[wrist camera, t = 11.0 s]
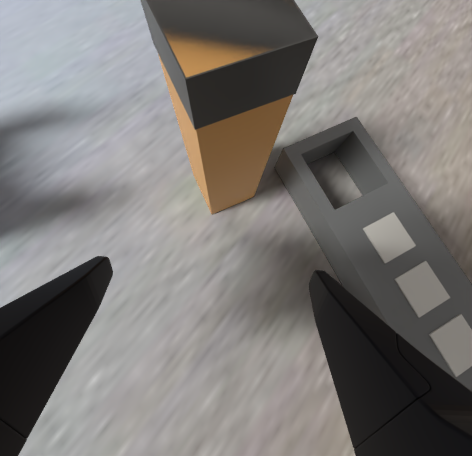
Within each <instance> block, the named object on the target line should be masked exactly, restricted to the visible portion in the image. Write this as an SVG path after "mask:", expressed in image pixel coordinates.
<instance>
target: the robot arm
mask: <svg viewBox="0 0 472 456" xmlns="http://www.w3.org/2000/svg"><path fill="white" fill-rule="evenodd" d="M112 275H113V270H112V267H111V263H110V260H109V258H108V257H104V256H97V257H95V258H93V259H91V260H89V261H87V262H85V263H84V264H82V265H80V266H78V267H76V268H74V269H72V270H70V271H69V272H67V273H65V274H63V275H61V276H59V277H57V278H55V279H54V280H52V281H50V282H48V283H46V284H44V285H42V286H40V287H39V288H37V289H35V290H33V291H31V292H29V293H27V294H25V295H24V296H22V297H20V298H18V299H16V300H14V301H12V302H10V303H9V304H7V305H5V306H3V307H1V308H0V456H18V455H19V453H20V451H21V449H22V448H23V446H24V444H25V442H26V440H27V439H26V438H28V436H29V435H30V433H31V431H32V429H33V427H34V425H35V424H36V422H37V420H38V418H39V416H40V414H41V413H42V411H43V409H44V407H45V405H46V404H47V402H48V400H49V398H50V396H51V394H52V393H53V391H54V389H55V387H56V385H57V384H58V382H59V380H60V378H61V376H62V374H63V373H64V371H65V369H66V367H67V365H68V363H69V362H70V360H71V358H72V356H73V354H74V353H75V351H76V349H77V347H78V345H79V343H80V342H81V340H82V338H83V336H84V334H85V333H86V331H87V329H88V327H89V325H90V323H91V322H92V320H93V318H94V316H95V314H96V312H97V310H98V309H99V306H100V304H101V302H102V299H103V297H104V295H105V292H106V290H107V287H108V285H109V283H110V280H111V278H112ZM309 290H310V296H311V301H312V307H313V312H314V317H315V322H316V325H317V329H318V332H319V335H320V338H321V342H322V345H323V348H324V352H325V355H326V358H327V362H328V365H329V368H330V372H331V375H332V378H333V381H334V385H335V388H336V391H337V395H338V398H339V401H340V405H341V408H342V411H343V415H344V418H345V421H346V424H347V428H348V431H349V434H350V438H351V441H352V444H353V447H354V451H355V455H356V456H472V391H471V390H469V389H468V388H467V387H465V386H464V385H463V384H461V383H460V382H459V381H457V380H456V379H455V378H454V377H452V376H451V375H450V374H448V373H447V372H446V371H444V370H443V369H442V368H440V367H439V366H438V365H436V364H435V363H434V362H433V361H431V360H430V359H429V358H427V357H426V356H425V355H424V354H422V353H421V352H420V351H419V350H417V349H416V348H415V347H414V346H413V345H411V344H410V343H409V342H408V341H406V340H405V339H404V338H403V337H402V336H401V335H399V334H398V333H396V331H395V330H393V329H392V328H391V327H390V326H389V325H387V324H386V323H385V322H384V321H383V320H382V319H380V318H379V317H378V316H377V315H376V314H374V313H373V312H372V311H371V310H370V309H369V308H367V307H366V306H365V305H364V304H363V303H362V302H360V301H359V300H358V299H357V298H356V297H354V296H353V295H352V294H351V293H350V292H349V291H347V290H346V289H345V288H344V287H343V286H341V285H340V284H339V283H338V282H337V281H336V280H334V279H333V278H332V277H331V276H330V275H328V274H327V273H326V272H325V271H320V270H315V271H314V272H313V275H312V277H311V280H310V283H309Z"/></svg>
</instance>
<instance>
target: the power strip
mask: <svg viewBox="0 0 472 456" xmlns="http://www.w3.org/2000/svg"><path fill="white" fill-rule="evenodd" d="M333 152H335V153H336V155H337V156H338V158H339V159H340V161H341V163H342V164H343V166H344V167H345V169H346V170H347V172H348V173H349V175H350V176H351V178H352V180H353V181H354V183H355V184H356V186H357V187H358V189H359V190H360V192H361V194H362V195H363V196H361V197H360V198H358V199H356V200H354V201H352V202H350V203H348V204H346V205H344V206H342V207H340V208H338V209H336V210H335V209H334V208H333V206H332V205H331V203H330V201H329V200H328V198H327V196H326V195H325V193H324V191H323V190H322V188H321V187H320V185H319V183H318V182H317V180H316V178H315V177H314V175H313V173H312V172H311V170H310V168H309V167H308V165H307V164H309V163H311V162H313V161H315V160H317V159H320V158H322V157H324V156H326V155H328V154H331V153H333ZM274 168H275V169H276V171H277V173H278V175H279V176H280V178H281V180H282V181H283V183H284V185H285V187H286V188H287V190H288V192H289V194H290V195H291V197H292V199H293V200H294V202H295V204H296V206H297V207H298V209H299V211H300V213H301V214H302V216H303V218H304V219H305V221H306V223H307V225H308V226H309V228H310V230H311V232H312V233H313V235H314V237H315V239H316V240H317V242H318V244H319V245H320V247H321V249H322V251H323V252H324V254H325V256H326V258H327V259H328V261H329V263H330V264H331V266H332V268H333V270H334V271H335V273H336V275H337V277H338V278H339V280H340V282H341V283H342V285H343V287H344V288H345V289H346V290H347V291H349V292H350V293H351V294H352V295H353V296H354V297H356V298H357V299H358V300H359V301H360V302H362V303H363V304H364V305H365V306H366V307H367V308H369V309H370V310H371V311H372V312H373V313H374V314H376V315H377V316H378V317H379V318H380V319H382V320H383V321H384V322H385V323H386V324H387V325H389V326H390V327H391V328H392V329H393V330H395V331H396V333H398V334H399V335H401V336H402V337H403V338H404V339H405V340H406V341H408V342H409V343H410V344H411V345H413V346H414V347H415V348H416V349H417V350H419V351H420V352H421V353H422V354H424V355H425V356H426V357H427V358H429V359H430V360H431V361H433V362H434V363H435V364H436V365H438V366H439V367H440V368H442V369H443V370H444V371H446V372H447V373H448V374H450V375H451V376H452V377H454V378H455V379H456V380H457V381H459V382H460V383H461V384H463V385H464V386H465V387H467V388H468V389H469V390H471V391H472V284H471V282H470V281H469V279H468V278H467V277H466V275H465V274H464V272H463V271H462V269H461V268H460V266H459V265H458V263H457V262H456V261H455V259H454V258H453V256H452V255H451V253H450V252H449V250H448V249H447V247H446V246H445V245H444V243H443V242H442V240H441V239H440V237H439V236H438V234H437V233H436V232H435V230H434V229H433V227H432V226H431V224H430V223H429V221H428V220H427V218H426V217H425V216H424V214H423V213H422V211H421V210H420V208H419V207H418V205H417V204H416V202H415V201H414V200H413V198H412V197H411V195H410V194H409V192H408V191H407V189H406V188H405V186H404V185H403V184H402V182H401V181H400V179H399V178H398V176H397V175H396V173H395V172H394V170H393V169H392V168H391V166H390V165H389V163H388V162H387V160H386V159H385V157H384V156H383V154H382V153H381V152H380V150H379V149H378V147H377V146H376V144H375V143H374V141H373V140H372V139H371V137H370V136H369V134H368V133H367V131H366V130H365V128H364V127H363V125H362V124H361V123H360V121H359V120H358V118H357V117H355V118H352V119H350V120H348V121H345V122H343V123H341V124H339V125H336V126H334V127H332V128H329V129H327V130H325V131H322V132H320V133H318V134H316V135H313V136H311V137H309V138H306V139H304V140H302V141H300V142H297V143H295V144H293V145H290V146H288V147H286V148H283V150H282V153H281V155H280V157H279V159H278V161H277V163H276V165H275V167H274Z"/></svg>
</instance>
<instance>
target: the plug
mask: <svg viewBox="0 0 472 456" xmlns="http://www.w3.org/2000/svg"><path fill="white" fill-rule="evenodd" d="M141 3H142V7H143V10H144V13H145V17H146V20H147V23H148V27H149V30H150V33H151V37H152V40H153V43H154V46H155V48H156V50H157V52H158V55H159V58H160V62H161V65H162V69H163V72H164V76H165V79H166V82H167V86H168V89H169V93H170V96H171V99H172V103H173V106H174V110H175V113H176V116H177V120H178V123H179V127H180V130H181V133H182V137H183V140H184V144H185V147H186V150H187V154H188V157H189V161H190V164H191V168H192V171H193V174H194V177H195V179H196V181H197V183H198V185H199V188H200V190H201V192H202V194H203V196H204V199H205V201H206V203H207V205H208V207H209V209H210V212H211V214H214V213H217V212H219V211H221V210H224V209H226V208H229V207H231V206H233V205H236V204H238V203H240V202H243V201H245V200H247V199H250V198H252V197H254V195H255V192H256V190H257V187H258V185H259V182H260V179H261V177H262V174H263V172H264V169H265V166H266V164H267V161H268V159H269V156H270V153H271V151H272V148H273V146H274V143H275V140H276V138H277V135H278V133H279V130H280V128H281V125H282V122H283V120H284V117H285V115H286V112H287V109H288V107H289V104H290V102H291V99H292V96H293V94H296V91H297V89H298V86H299V84H300V81H301V79H302V76H303V74H304V71H305V69H306V66H307V64H308V61H309V59H310V56H311V53H312V51H313V48H314V46H315V43H316V41H317V38H318V36H317V34H316V33H315V31H314V30H313V28H312V27H311V25H310V24H309V22H308V21H307V19H306V18H305V16H304V15H303V13H302V12H301V10H300V9H299V7H298V6H297V4H296V3H295V1H294V0H141Z"/></svg>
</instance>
